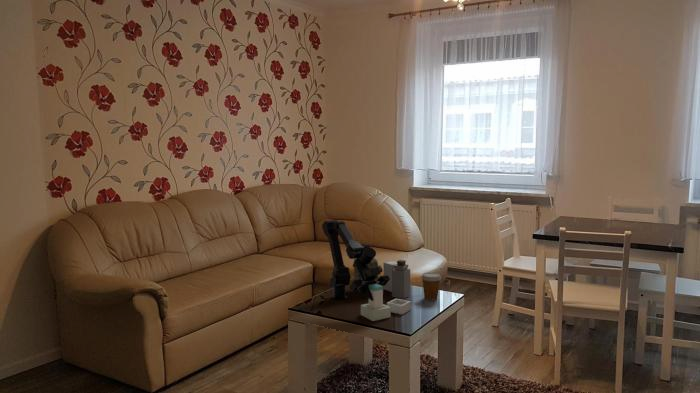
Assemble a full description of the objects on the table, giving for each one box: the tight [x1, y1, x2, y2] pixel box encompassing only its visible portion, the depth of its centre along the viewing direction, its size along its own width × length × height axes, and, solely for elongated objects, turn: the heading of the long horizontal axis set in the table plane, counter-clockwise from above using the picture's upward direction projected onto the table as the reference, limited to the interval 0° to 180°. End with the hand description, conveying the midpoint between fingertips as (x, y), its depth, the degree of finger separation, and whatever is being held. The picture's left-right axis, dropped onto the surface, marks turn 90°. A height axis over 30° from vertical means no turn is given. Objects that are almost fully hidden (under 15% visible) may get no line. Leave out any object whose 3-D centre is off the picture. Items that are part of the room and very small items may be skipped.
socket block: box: [360, 303, 392, 322], centre depth 226 cm, size 10×10×4 cm
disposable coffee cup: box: [421, 272, 442, 301], centre depth 251 cm, size 10×10×12 cm
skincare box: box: [383, 260, 397, 293], centre depth 264 cm, size 8×6×15 cm
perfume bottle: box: [391, 259, 411, 300], centre depth 255 cm, size 7×7×18 cm
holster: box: [386, 297, 412, 315], centre depth 233 cm, size 8×8×4 cm
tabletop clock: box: [353, 243, 379, 281], centre depth 261 cm, size 14×9×25 cm, turn 15°
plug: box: [368, 284, 384, 309], centre depth 225 cm, size 5×5×12 cm
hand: (377, 299), depth 224 cm, fingers closed on plug, 4 cm apart
